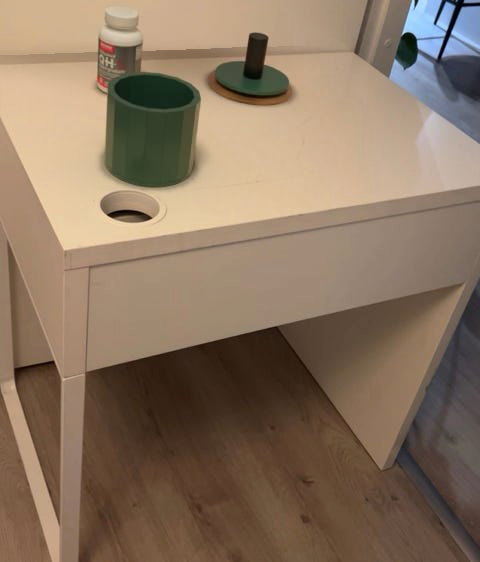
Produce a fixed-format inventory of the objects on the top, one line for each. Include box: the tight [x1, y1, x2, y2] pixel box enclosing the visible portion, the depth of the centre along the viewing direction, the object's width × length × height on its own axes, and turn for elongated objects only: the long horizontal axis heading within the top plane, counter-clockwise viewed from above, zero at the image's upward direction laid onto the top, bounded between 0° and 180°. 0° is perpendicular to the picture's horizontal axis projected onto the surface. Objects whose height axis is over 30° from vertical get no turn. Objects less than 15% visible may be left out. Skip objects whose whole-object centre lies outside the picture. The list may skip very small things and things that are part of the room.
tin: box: [104, 71, 202, 188], centre depth 77 cm, size 9×9×8 cm
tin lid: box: [215, 32, 290, 95], centre depth 98 cm, size 10×10×7 cm
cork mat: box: [207, 70, 293, 106], centre depth 100 cm, size 12×12×1 cm
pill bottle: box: [96, 5, 144, 94], centre depth 91 cm, size 5×5×10 cm
